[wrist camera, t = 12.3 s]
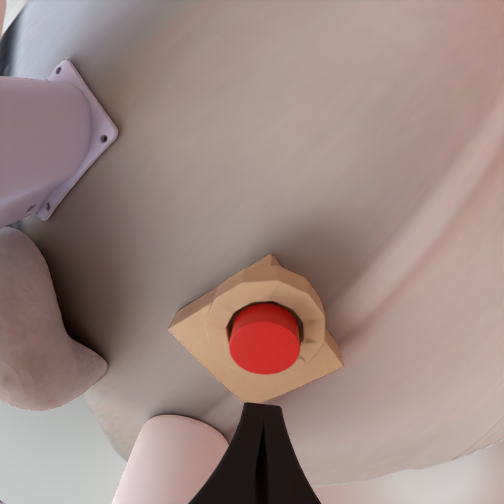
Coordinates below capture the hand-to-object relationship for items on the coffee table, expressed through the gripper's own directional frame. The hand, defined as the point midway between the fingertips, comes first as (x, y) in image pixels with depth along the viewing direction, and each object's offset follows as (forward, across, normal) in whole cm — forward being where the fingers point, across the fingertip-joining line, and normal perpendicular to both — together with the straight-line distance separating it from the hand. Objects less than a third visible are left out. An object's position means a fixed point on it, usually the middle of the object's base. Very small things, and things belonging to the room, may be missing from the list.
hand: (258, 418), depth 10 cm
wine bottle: (+10, +5, +19) cm, 22 cm away
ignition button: (+6, 0, 0) cm, 6 cm away
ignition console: (+10, 0, +3) cm, 10 cm away
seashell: (+10, +19, +6) cm, 22 cm away
